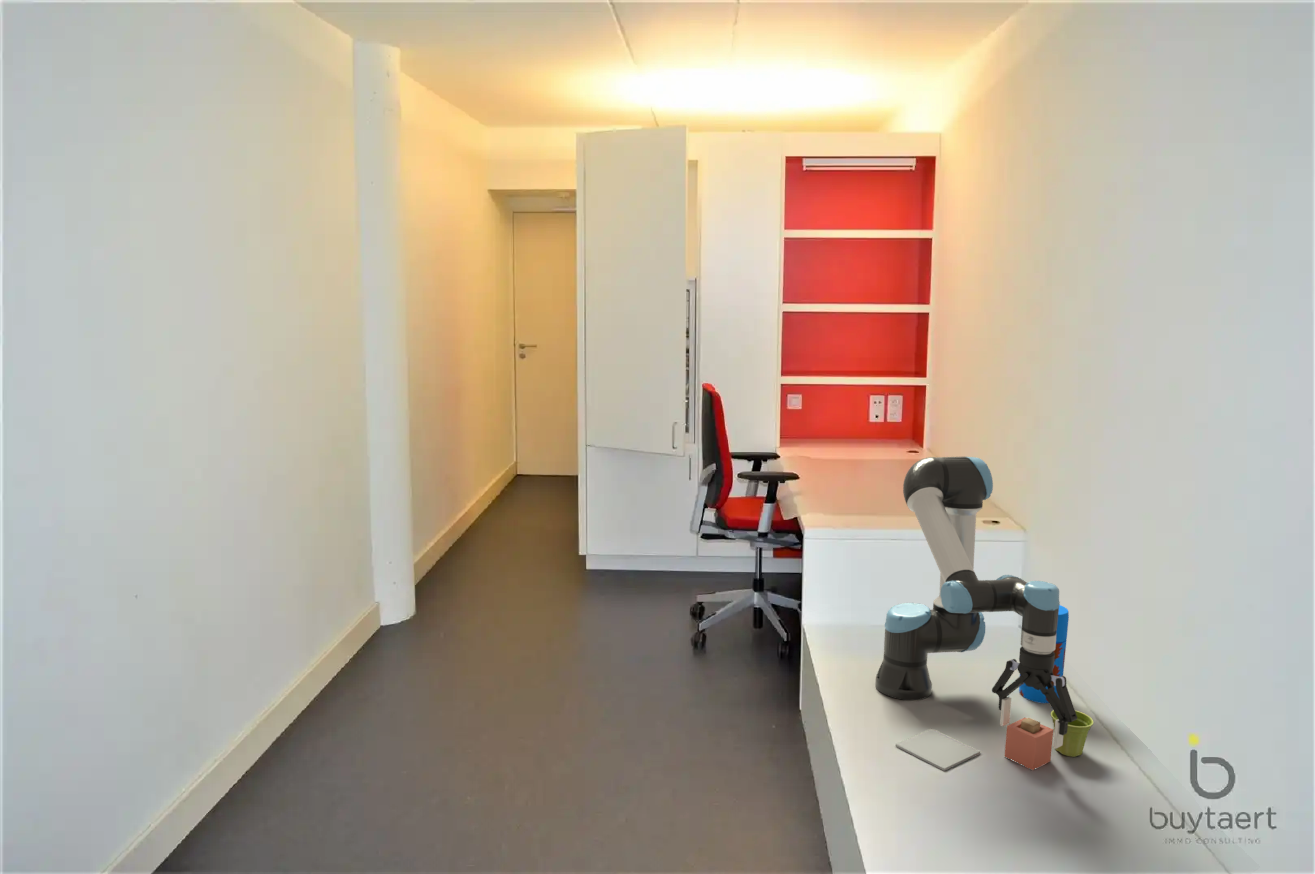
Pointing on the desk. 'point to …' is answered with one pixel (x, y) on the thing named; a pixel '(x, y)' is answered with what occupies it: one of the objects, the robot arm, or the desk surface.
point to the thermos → (1058, 660)
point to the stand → (1030, 725)
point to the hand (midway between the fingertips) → (1030, 735)
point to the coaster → (938, 749)
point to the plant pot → (1074, 734)
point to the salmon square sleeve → (1028, 745)
